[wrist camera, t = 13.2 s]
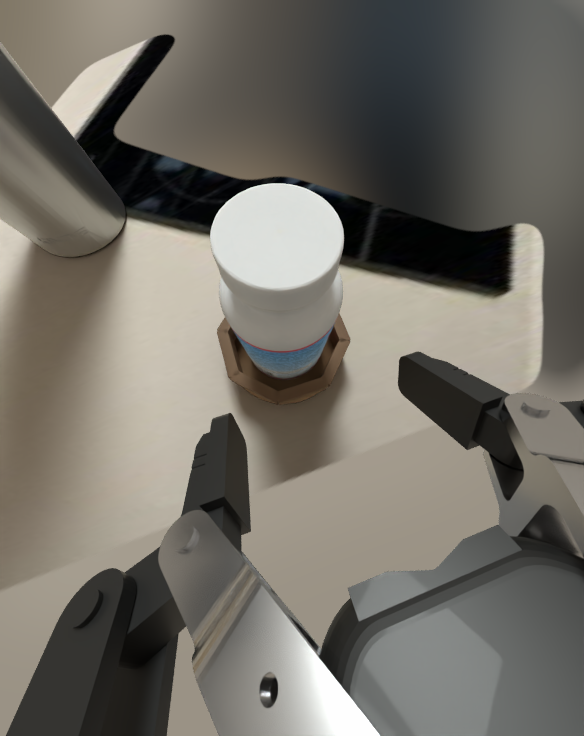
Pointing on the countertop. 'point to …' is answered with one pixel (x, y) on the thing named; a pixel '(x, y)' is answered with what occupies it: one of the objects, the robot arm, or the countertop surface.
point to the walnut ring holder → (283, 390)
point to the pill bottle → (279, 274)
